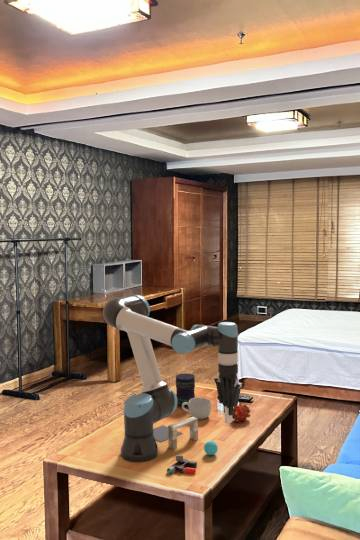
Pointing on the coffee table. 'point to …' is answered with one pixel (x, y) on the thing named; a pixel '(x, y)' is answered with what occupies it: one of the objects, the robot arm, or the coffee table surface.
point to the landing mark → (162, 433)
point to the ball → (210, 448)
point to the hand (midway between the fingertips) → (228, 422)
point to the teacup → (198, 407)
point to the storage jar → (184, 389)
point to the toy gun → (182, 466)
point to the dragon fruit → (240, 413)
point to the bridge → (173, 428)
